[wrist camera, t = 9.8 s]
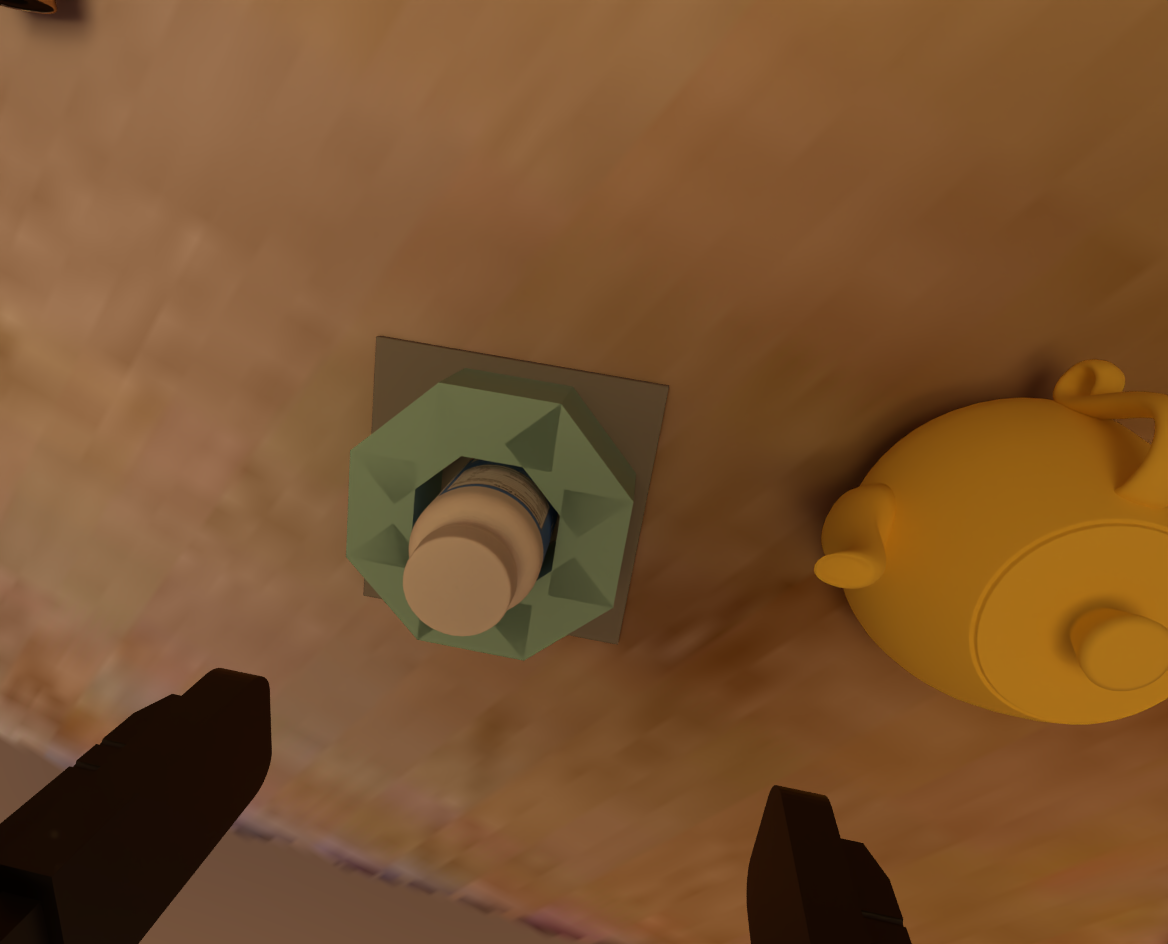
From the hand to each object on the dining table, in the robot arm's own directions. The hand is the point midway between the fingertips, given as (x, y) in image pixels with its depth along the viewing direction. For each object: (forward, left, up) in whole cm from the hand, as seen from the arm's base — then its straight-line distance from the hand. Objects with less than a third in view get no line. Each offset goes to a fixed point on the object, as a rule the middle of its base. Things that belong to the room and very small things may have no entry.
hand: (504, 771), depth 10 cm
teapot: (-18, 0, -23) cm, 28 cm away
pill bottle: (+4, +4, -22) cm, 23 cm away
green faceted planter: (+4, +4, -22) cm, 23 cm away
